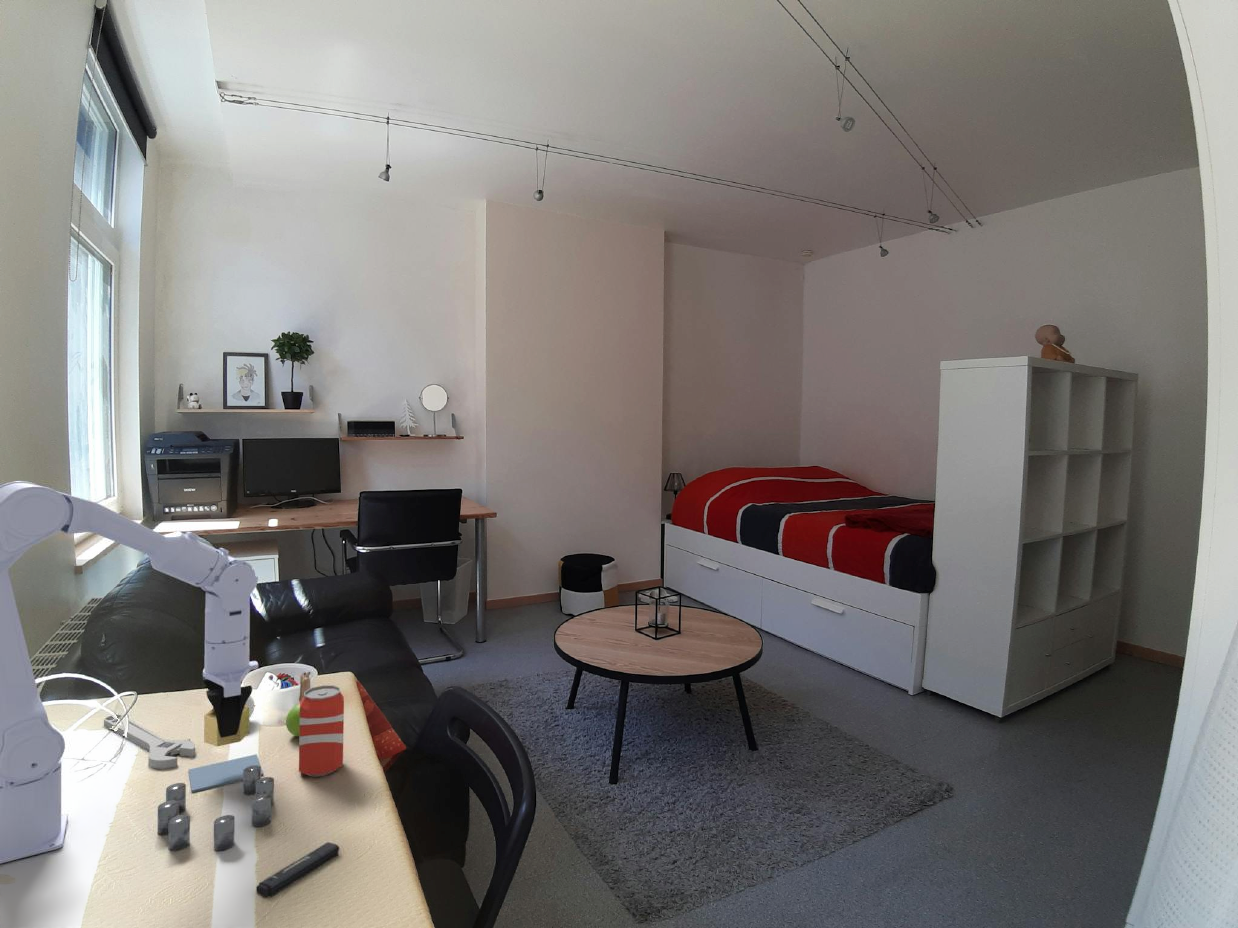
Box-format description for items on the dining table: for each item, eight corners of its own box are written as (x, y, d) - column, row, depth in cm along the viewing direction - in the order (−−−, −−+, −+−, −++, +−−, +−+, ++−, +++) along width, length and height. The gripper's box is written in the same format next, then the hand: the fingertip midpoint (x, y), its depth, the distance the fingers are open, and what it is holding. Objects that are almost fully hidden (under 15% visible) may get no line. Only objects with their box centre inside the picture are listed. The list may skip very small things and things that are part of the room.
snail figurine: (287, 747, 107) (288, 674, 107) (284, 731, 113) (285, 662, 112) (323, 740, 110) (324, 669, 109) (319, 725, 115) (320, 657, 115)
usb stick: (327, 849, 82) (327, 837, 82) (341, 856, 81) (342, 844, 81) (254, 894, 74) (254, 881, 74) (268, 903, 72) (268, 889, 72)
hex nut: (205, 748, 95) (205, 720, 94) (202, 735, 99) (202, 709, 98) (251, 739, 98) (251, 712, 98) (246, 726, 102) (247, 700, 102)
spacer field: (159, 869, 77) (159, 842, 77) (156, 811, 88) (156, 787, 88) (284, 832, 84) (284, 808, 84) (267, 783, 96) (267, 761, 96)
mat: (191, 792, 93) (191, 790, 93) (188, 771, 99) (188, 769, 99) (263, 774, 98) (263, 773, 98) (256, 755, 104) (256, 753, 104)
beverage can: (342, 755, 105) (343, 681, 104) (343, 775, 99) (344, 696, 98) (299, 762, 102) (300, 686, 102) (298, 782, 96) (299, 702, 96)
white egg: (259, 724, 115) (260, 692, 115) (223, 734, 111) (224, 701, 111) (243, 711, 120) (244, 680, 120) (208, 720, 116) (208, 688, 116)
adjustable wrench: (100, 727, 113) (100, 716, 113) (144, 715, 118) (144, 705, 118) (156, 773, 98) (156, 762, 98) (203, 758, 103) (204, 747, 103)
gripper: (265, 646, 94) (264, 740, 95) (251, 622, 106) (250, 705, 106) (207, 655, 90) (206, 752, 91) (199, 628, 102) (198, 714, 102)
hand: (226, 727), depth 98 cm, fingers closed on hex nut, 5 cm apart
